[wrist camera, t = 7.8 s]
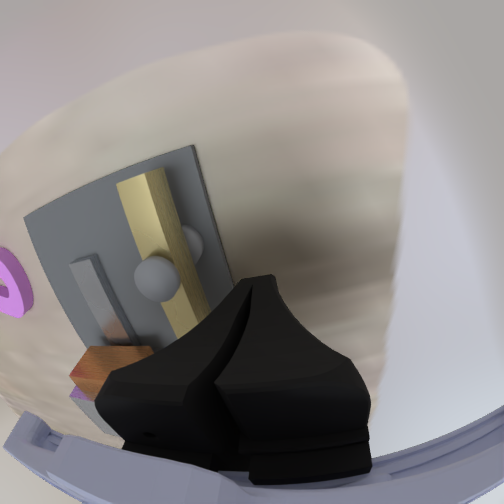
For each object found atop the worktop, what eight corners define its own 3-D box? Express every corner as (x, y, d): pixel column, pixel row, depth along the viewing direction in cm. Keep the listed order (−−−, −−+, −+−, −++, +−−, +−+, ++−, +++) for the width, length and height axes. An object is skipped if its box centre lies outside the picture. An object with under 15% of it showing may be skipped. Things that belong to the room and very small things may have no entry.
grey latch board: (270, 399, 17) (267, 446, 13) (127, 397, 19) (110, 431, 15) (193, 145, 10) (155, 151, 7) (27, 215, 13) (-15, 238, 9)
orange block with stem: (194, 413, 16) (184, 447, 13) (138, 408, 17) (125, 437, 14) (150, 344, 13) (130, 383, 11) (90, 344, 14) (68, 375, 12)
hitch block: (208, 402, 17) (194, 460, 13) (141, 398, 18) (120, 447, 14) (130, 242, 13) (71, 296, 8) (58, 261, 14) (6, 304, 9)
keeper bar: (227, 351, 13) (221, 375, 11) (204, 353, 13) (197, 376, 12) (163, 166, 9) (144, 173, 8) (137, 175, 10) (115, 183, 8)
